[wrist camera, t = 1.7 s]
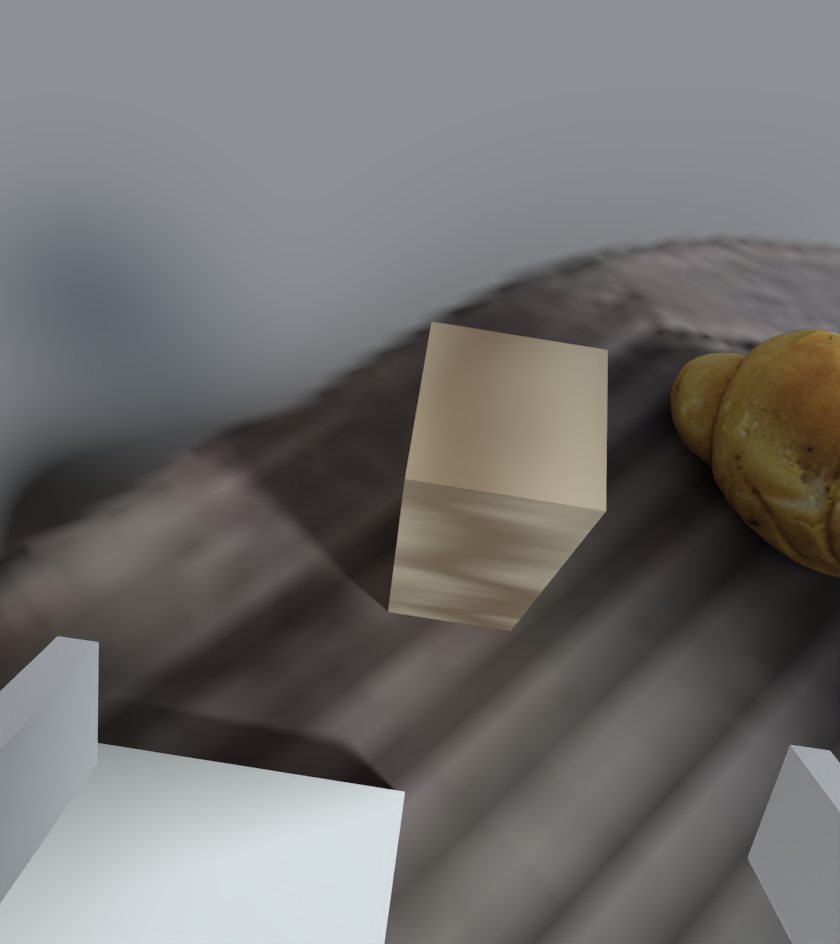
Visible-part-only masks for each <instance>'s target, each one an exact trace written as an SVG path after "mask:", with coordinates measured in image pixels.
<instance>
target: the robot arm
mask: <svg viewBox="0 0 840 944" xmlns="http://www.w3.org/2000/svg"><path fill="white" fill-rule="evenodd" d="M98 663H99V642H94V641H87V640H80V639H73V638H67V637H60V636H57V637H56V638H55V639H54V640H53V641H52V642H51V643H50V644H49V645H48V646H47V647H46V648H45V649H44V650H43V651H42V652H41V653H40V654H39V655H38V656H36V657H35V658H34V659H33V660H32V661H31V662H30V663H29V664H28V665H27V666H26V667H25V668H24V669H23V670H22V671H21V672H20V673H19V674H18V675H17V676H16V677H15V678H14V679H12V680H11V681H10V682H9V683H8V684H7V685H6V686H5V687H4V688H3V689H2V690H1V691H0V903H1V902H2V900H3V899H4V897H5V896H6V894H7V893H8V892H9V890H10V889H11V887H12V886H13V884H14V883H15V881H16V880H17V879H18V877H19V876H20V874H21V873H22V871H23V870H24V868H25V867H26V866H27V864H28V863H29V861H30V860H31V858H32V857H33V856H34V854H35V853H36V851H37V850H38V848H39V847H40V845H41V844H42V843H43V841H44V840H45V838H46V837H47V835H48V834H49V832H50V831H51V830H52V828H53V827H54V825H55V824H56V822H57V821H58V820H59V818H60V817H61V815H62V814H63V812H64V811H65V809H66V808H67V807H68V805H69V804H70V802H71V801H72V799H73V798H74V797H75V795H76V794H77V792H78V791H79V789H80V788H81V786H82V785H83V784H84V782H85V781H86V779H87V778H88V776H89V775H90V773H91V772H92V771H93V769H94V768H95V766H96V765H97V753H98ZM748 860H749V862H750V864H751V866H752V868H753V869H754V871H755V873H756V875H757V877H758V879H759V881H760V883H761V885H762V887H763V889H764V891H765V892H766V894H767V896H768V898H769V900H770V902H771V904H772V906H773V908H774V910H775V912H776V914H777V915H778V917H779V919H780V921H781V923H782V925H783V927H784V929H785V931H786V933H787V935H788V937H789V938H790V940H791V942H792V944H840V763H839V761H838V760H837V759H836V758H835V756H834V755H833V754H832V753H831V751H829V750H822V749H816V748H809V747H802V746H795V745H790V746H789V749H788V752H787V754H786V757H785V760H784V762H783V765H782V768H781V770H780V773H779V776H778V778H777V781H776V784H775V786H774V789H773V792H772V794H771V797H770V800H769V802H768V805H767V808H766V810H765V813H764V816H763V818H762V821H761V824H760V826H759V829H758V832H757V834H756V837H755V840H754V842H753V845H752V848H751V850H750V853H749V856H748Z"/></svg>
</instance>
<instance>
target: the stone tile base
mask: <svg viewBox="0 0 840 944" xmlns="http://www.w3.org/2000/svg"><path fill="white" fill-rule="evenodd" d="M404 795H405V792H403V791H397V790H391V789H384V788H378V787H372V786H365V785H359V784H353V783H346V782H340V781H334V780H328V779H321V778H315V777H309V776H302V775H296V774H290V773H284V772H277V771H271V770H265V769H258V768H252V767H246V766H239V765H233V764H227V763H221V762H214V761H208V760H202V759H195V758H189V757H183V756H177V755H170V754H164V753H158V752H151V751H145V750H139V749H132V748H126V747H120V746H114V745H107V744H101V743H98V753H97V765H96V766H95V768H94V769H93V771H92V772H91V773H90V775H89V776H88V778H87V779H86V781H85V782H84V784H83V785H82V786H81V788H80V789H79V791H78V792H77V794H76V795H75V797H74V798H73V799H72V801H71V802H70V804H69V805H68V807H67V808H66V809H65V811H64V812H63V814H62V815H61V817H60V818H59V820H58V821H57V822H56V824H55V825H54V827H53V828H52V830H51V831H50V832H49V834H48V835H47V837H46V838H45V840H44V841H43V843H42V844H41V845H40V847H39V848H38V850H37V851H36V853H35V854H34V856H33V857H32V858H31V860H30V861H29V863H28V864H27V866H26V867H25V868H24V870H23V871H22V873H21V874H20V876H19V877H18V879H17V880H16V881H15V883H14V884H13V886H12V887H11V889H10V890H9V892H8V893H7V894H6V896H5V897H4V899H3V900H2V902H1V903H0V944H384V942H385V934H386V927H387V920H388V912H389V905H390V898H391V890H392V883H393V876H394V868H395V861H396V854H397V846H398V839H399V832H400V824H401V817H402V810H403V802H404Z"/></svg>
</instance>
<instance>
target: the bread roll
mask: <svg viewBox="0 0 840 944" xmlns="http://www.w3.org/2000/svg"><path fill="white" fill-rule="evenodd" d="M670 408H671V413H672V420H673V422H674V425H675V427H676V429H677V431H678V433H679V435H680V437H681V439H682V441H683V443H684V444H685V445H686V446H687V447H688V448H689V449H690V451H692V452H693V453H694V454H695V455H697V456H698V457H699V458H700V459H701V460H703V461H704V462H705V463H706V464H708V465H709V466H711V467H712V471H713V477H714V480H715V483H716V484H717V486H718V487H719V488H720V490H721V491H722V492H723V494H724V496H725V498H726V500H727V502H728V504H729V505H730V506H731V507H732V508H733V509H734V510H735V511H736V512H737V513H738V514H739V516H740V517H741V518H742V519H743V521H744V522H745V523H746V524H747V525H748V526H749V527H750V528H751V529H752V530H754V531H755V532H756V533H757V534H758V535H759V536H761V537H762V538H763V539H764V540H765V541H766V542H767V543H768V544H770V545H771V546H772V547H773V548H775V549H776V550H778V551H779V552H781V553H782V554H784V555H786V556H787V557H789V558H790V559H792V560H793V561H795V562H797V563H798V564H800V565H802V566H805V567H807V568H809V569H811V570H813V571H816V572H819V573H822V574H826V575H830V576H834V577H840V335H839V334H837V333H834V332H827V331H824V330H801V331H794V332H790V333H786V334H782V335H778V336H775V337H772V338H770V339H769V340H767V341H765V342H763V343H762V344H760V345H759V346H758V347H756V348H754V349H753V350H752V351H751V352H750V353H749V354H748V355H743V354H741V353H712V354H707V355H703V356H699V357H697V358H695V359H693V360H691V361H690V362H688V363H687V364H685V365H684V366H683V368H682V369H681V371H680V372H679V374H678V375H677V377H676V379H675V381H674V382H673V385H672V389H671V393H670Z"/></svg>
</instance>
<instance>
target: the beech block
mask: <svg viewBox="0 0 840 944" xmlns="http://www.w3.org/2000/svg"><path fill="white" fill-rule="evenodd" d="M607 384H608V350H605V349H599V348H593V347H586V346H580V345H574V344H568V343H562V342H555V341H549V340H543V339H537V338H531V337H524V336H518V335H512V334H506V333H500V332H494V331H487V330H481V329H475V328H469V327H463V326H456V325H450V324H444V323H438V322H431V328H430V334H429V339H428V345H427V351H426V357H425V363H424V369H423V375H422V381H421V387H420V392H419V398H418V404H417V410H416V416H415V422H414V428H413V434H412V440H411V445H410V451H409V457H408V463H407V469H406V475H405V482H404V489H403V497H402V505H401V513H400V521H399V529H398V537H397V545H396V553H395V561H394V568H393V576H392V584H391V592H390V600H389V608H388V612H392V613H398V614H404V615H410V616H417V617H423V618H429V619H435V620H442V621H448V622H454V623H460V624H467V625H473V626H479V627H485V628H492V629H498V630H504V631H511V630H512V628H513V627H514V626H515V625H516V623H517V622H518V621H519V620H520V618H521V617H522V616H523V615H524V613H525V612H526V611H527V610H528V608H529V607H530V606H531V605H532V603H533V602H534V601H535V600H536V598H537V597H538V596H539V595H540V593H541V592H542V591H543V590H544V588H545V587H546V586H547V585H548V583H549V582H550V581H551V580H552V578H553V577H554V576H555V575H556V573H557V572H558V571H559V570H560V568H561V567H562V566H563V565H564V563H565V562H566V561H567V560H568V558H569V557H570V556H571V554H572V553H573V552H574V551H575V549H576V548H577V547H578V546H579V544H580V543H581V542H582V541H583V539H584V538H585V537H586V536H587V534H588V533H589V532H590V531H591V529H592V528H593V527H594V526H595V524H596V523H597V522H598V521H599V519H600V518H601V517H602V516H603V514H604V513H605V512H606V475H607Z"/></svg>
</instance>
